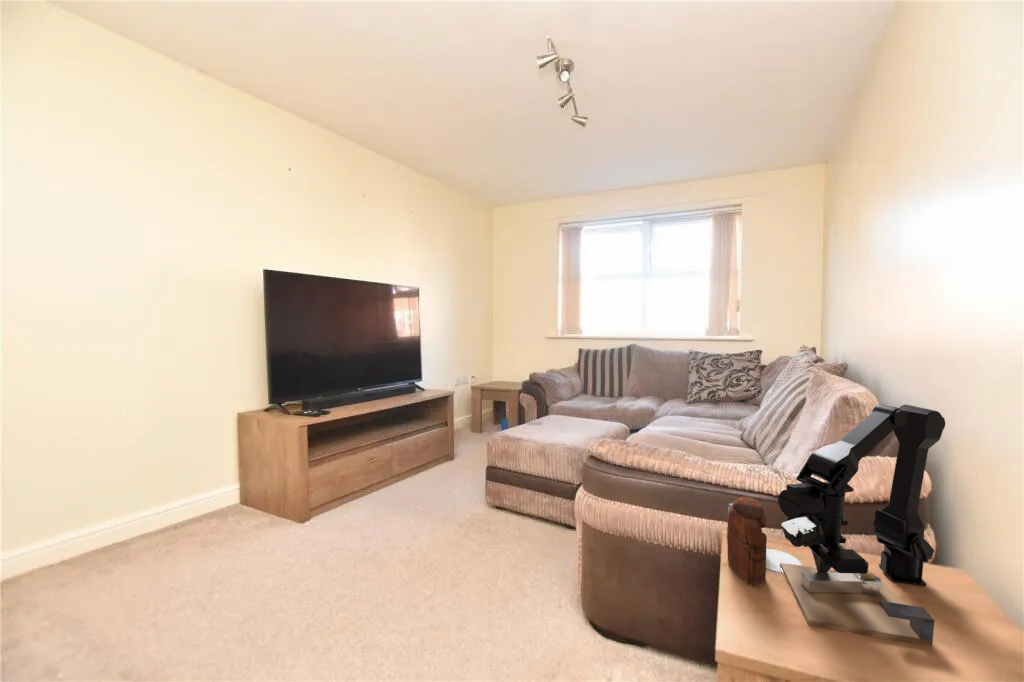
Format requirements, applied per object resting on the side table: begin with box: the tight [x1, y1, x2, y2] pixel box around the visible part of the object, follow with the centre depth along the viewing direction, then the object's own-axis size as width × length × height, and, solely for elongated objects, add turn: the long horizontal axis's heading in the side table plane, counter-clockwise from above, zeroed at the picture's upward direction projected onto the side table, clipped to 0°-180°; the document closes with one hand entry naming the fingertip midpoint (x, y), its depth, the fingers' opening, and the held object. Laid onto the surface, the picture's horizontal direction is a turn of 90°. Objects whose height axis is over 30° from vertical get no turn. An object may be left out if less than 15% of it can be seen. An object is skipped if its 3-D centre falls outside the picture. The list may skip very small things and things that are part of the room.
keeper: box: [880, 601, 935, 647], centre depth 86 cm, size 7×4×5 cm, turn 73°
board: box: [779, 562, 934, 648], centre depth 96 cm, size 20×20×5 cm
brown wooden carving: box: [726, 496, 768, 587], centre depth 106 cm, size 12×6×18 cm, turn 4°
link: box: [801, 572, 881, 596], centre depth 98 cm, size 15×5×3 cm, turn 88°
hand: (821, 576), depth 101 cm, fingers closed
